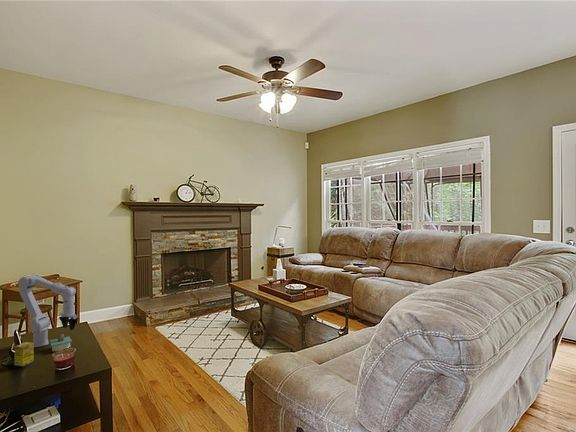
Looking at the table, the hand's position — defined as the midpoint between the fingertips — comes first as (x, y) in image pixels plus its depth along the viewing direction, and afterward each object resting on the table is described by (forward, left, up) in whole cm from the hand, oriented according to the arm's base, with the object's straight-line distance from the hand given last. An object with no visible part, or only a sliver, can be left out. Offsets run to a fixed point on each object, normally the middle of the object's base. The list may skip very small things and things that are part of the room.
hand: (68, 328), depth 201 cm
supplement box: (+18, -21, -10) cm, 29 cm away
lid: (+5, -4, -6) cm, 9 cm away
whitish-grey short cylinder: (+5, -4, -10) cm, 12 cm away
